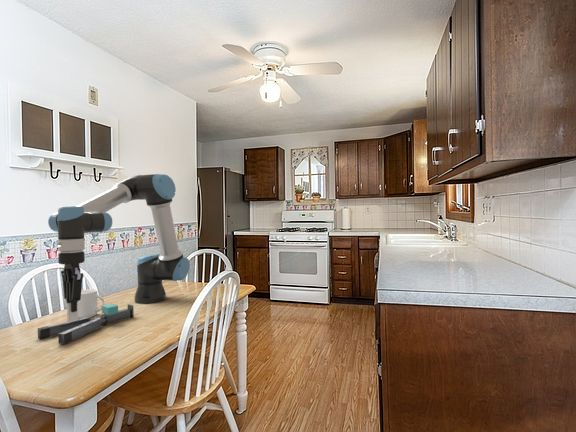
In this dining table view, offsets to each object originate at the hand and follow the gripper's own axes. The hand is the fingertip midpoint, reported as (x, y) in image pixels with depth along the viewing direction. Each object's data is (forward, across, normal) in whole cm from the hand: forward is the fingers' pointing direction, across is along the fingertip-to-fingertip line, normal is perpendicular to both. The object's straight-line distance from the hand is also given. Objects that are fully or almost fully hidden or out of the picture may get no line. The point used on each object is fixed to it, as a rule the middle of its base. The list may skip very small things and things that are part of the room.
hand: (72, 320), depth 116 cm
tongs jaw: (+9, -9, +6) cm, 14 cm away
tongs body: (+9, -17, +12) cm, 22 cm away
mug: (+9, -33, +18) cm, 39 cm away
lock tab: (+5, -16, +19) cm, 26 cm away
